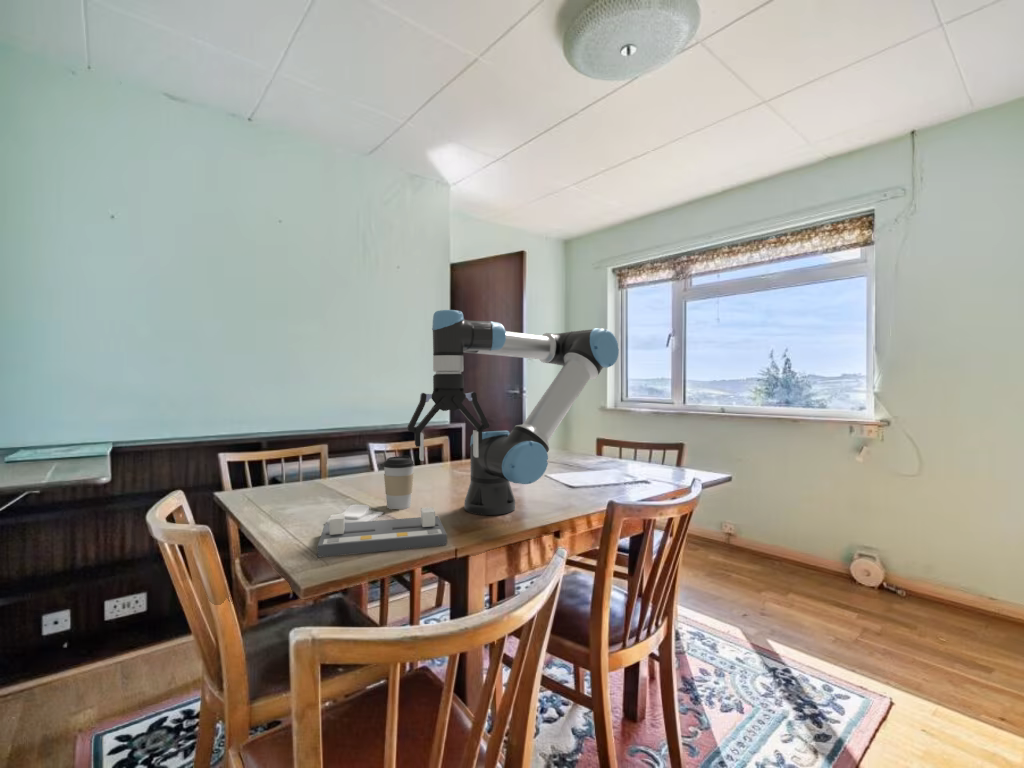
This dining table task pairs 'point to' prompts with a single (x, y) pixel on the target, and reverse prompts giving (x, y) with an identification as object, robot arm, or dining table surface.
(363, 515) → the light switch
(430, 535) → the switch panel
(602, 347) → the robot arm
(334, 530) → the slide switch
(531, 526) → the dining table surface
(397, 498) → the coffee cup
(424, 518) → the slide switch
